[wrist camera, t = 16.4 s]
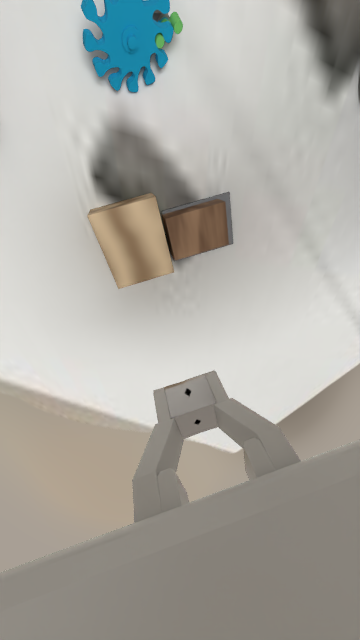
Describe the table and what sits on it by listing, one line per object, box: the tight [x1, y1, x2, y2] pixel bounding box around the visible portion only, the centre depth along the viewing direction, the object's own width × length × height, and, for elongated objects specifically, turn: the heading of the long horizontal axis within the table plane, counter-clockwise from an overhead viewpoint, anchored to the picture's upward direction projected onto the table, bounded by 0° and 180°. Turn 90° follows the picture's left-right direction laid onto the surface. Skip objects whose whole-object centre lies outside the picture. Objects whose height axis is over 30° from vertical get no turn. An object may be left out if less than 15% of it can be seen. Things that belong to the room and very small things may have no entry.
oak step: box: [87, 193, 174, 289], centre depth 38 cm, size 10×12×5 cm
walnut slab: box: [162, 199, 229, 260], centre depth 40 cm, size 4×7×10 cm
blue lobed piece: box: [81, 0, 183, 92], centre depth 25 cm, size 11×6×10 cm
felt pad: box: [162, 192, 233, 261], centre depth 42 cm, size 12×9×1 cm
